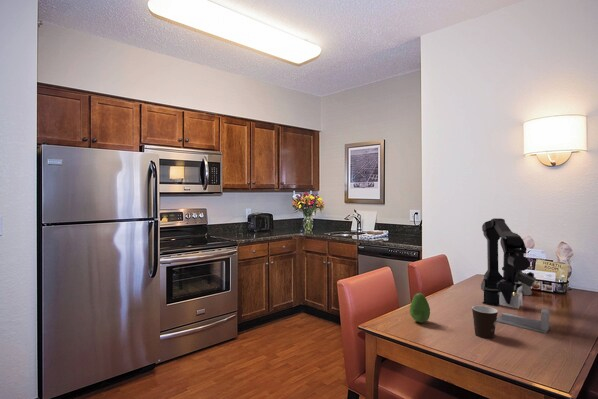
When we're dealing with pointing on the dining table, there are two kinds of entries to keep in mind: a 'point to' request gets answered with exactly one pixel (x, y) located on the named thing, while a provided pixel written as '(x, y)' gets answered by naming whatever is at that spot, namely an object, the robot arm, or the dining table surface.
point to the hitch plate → (527, 321)
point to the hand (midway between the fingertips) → (510, 302)
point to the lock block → (515, 300)
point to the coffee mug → (484, 321)
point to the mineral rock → (524, 289)
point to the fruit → (420, 308)
